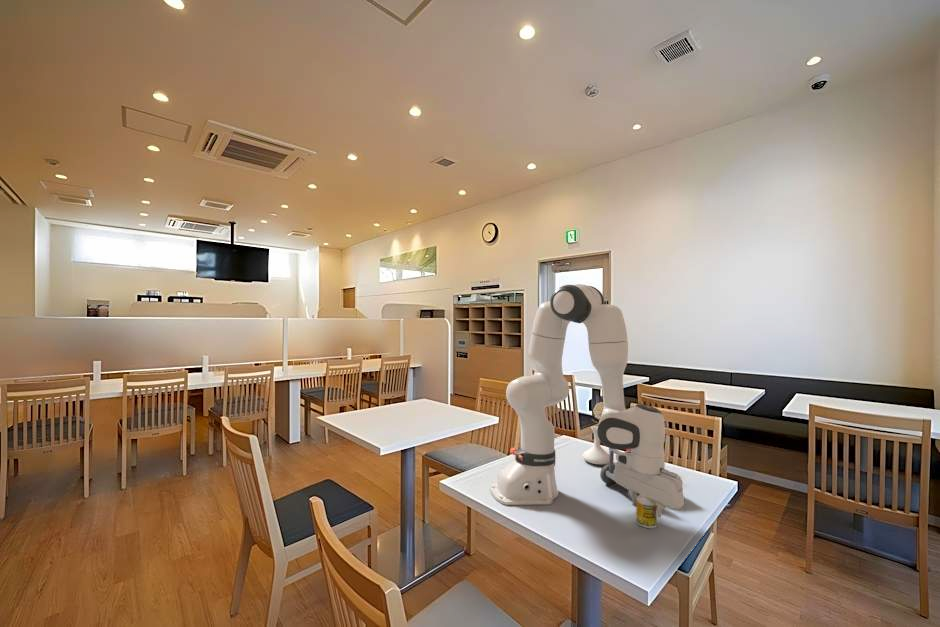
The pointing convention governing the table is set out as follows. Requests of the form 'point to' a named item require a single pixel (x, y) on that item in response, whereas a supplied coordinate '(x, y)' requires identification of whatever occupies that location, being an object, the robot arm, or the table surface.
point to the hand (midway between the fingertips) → (646, 511)
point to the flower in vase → (596, 443)
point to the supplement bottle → (645, 511)
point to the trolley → (611, 471)
